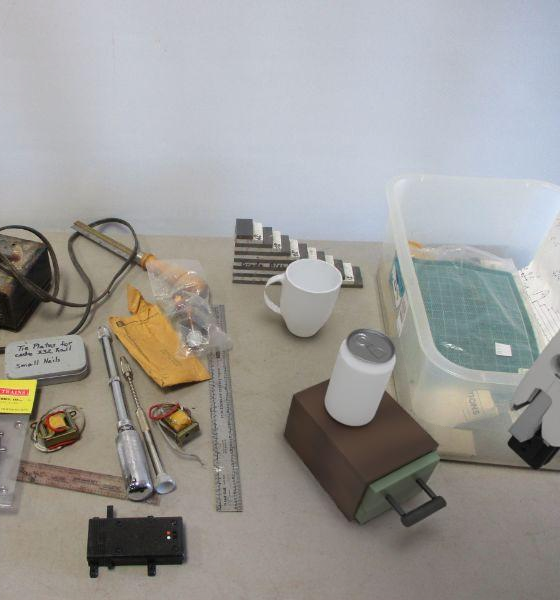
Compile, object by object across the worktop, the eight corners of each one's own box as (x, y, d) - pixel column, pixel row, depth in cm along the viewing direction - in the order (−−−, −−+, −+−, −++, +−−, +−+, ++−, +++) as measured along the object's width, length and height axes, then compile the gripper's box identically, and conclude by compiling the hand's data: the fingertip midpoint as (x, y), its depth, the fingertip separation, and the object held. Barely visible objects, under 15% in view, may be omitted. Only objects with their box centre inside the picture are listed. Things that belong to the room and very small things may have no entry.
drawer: (446, 517, 75) (468, 485, 70) (384, 553, 72) (401, 523, 66) (354, 415, 87) (366, 381, 81) (296, 443, 83) (305, 409, 78)
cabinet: (417, 485, 79) (439, 444, 73) (349, 521, 76) (366, 482, 69) (346, 406, 89) (360, 364, 83) (282, 435, 85) (292, 394, 79)
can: (346, 380, 80) (367, 317, 72) (384, 411, 77) (411, 349, 68) (313, 403, 78) (331, 340, 69) (351, 436, 74) (375, 374, 66)
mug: (329, 315, 104) (343, 261, 96) (326, 350, 97) (341, 297, 89) (263, 303, 106) (271, 250, 98) (256, 337, 100) (264, 284, 92)
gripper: (617, 382, 37) (503, 523, 49) (752, 309, 42) (617, 454, 54) (516, 309, 42) (435, 454, 54) (647, 251, 47) (545, 396, 59)
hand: (526, 454), depth 54 cm, fingers closed
